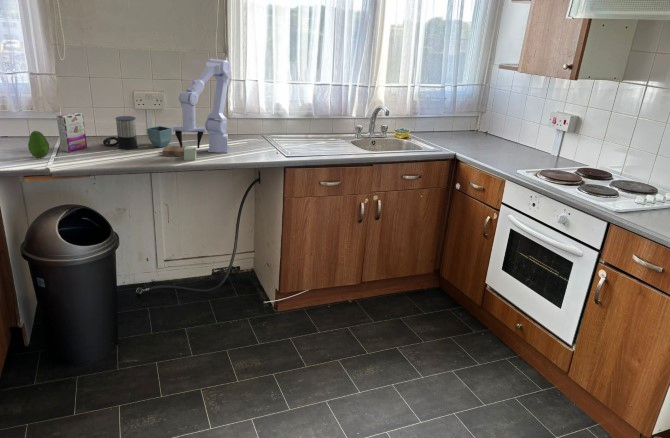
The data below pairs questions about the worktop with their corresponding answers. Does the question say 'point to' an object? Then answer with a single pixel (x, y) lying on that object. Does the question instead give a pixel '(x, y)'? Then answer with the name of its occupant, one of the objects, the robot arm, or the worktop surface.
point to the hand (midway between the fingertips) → (189, 147)
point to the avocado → (38, 144)
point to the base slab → (173, 151)
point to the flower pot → (159, 136)
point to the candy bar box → (71, 132)
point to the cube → (190, 153)
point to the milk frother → (124, 133)
